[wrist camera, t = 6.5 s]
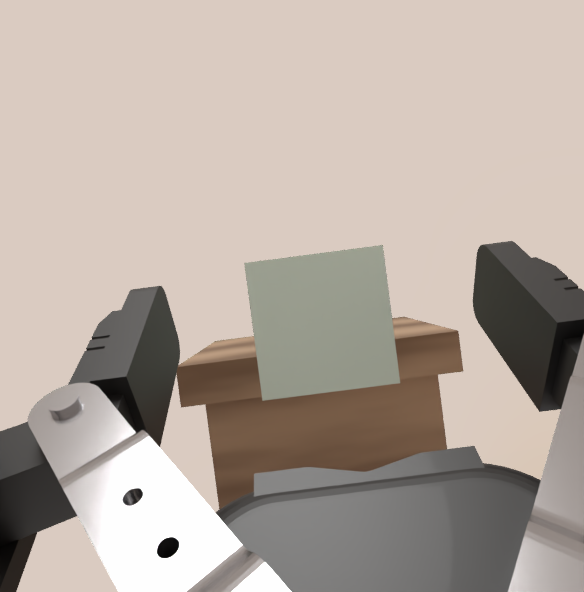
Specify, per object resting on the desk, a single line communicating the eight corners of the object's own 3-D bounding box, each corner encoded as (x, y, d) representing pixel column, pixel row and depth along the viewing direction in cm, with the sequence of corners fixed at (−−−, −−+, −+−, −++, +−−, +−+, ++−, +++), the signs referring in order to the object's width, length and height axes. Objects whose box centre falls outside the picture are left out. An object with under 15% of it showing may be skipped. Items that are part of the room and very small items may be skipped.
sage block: (400, 383, 14) (382, 245, 14) (262, 400, 14) (244, 263, 14) (332, 321, 40) (326, 273, 40) (284, 328, 40) (277, 279, 40)
